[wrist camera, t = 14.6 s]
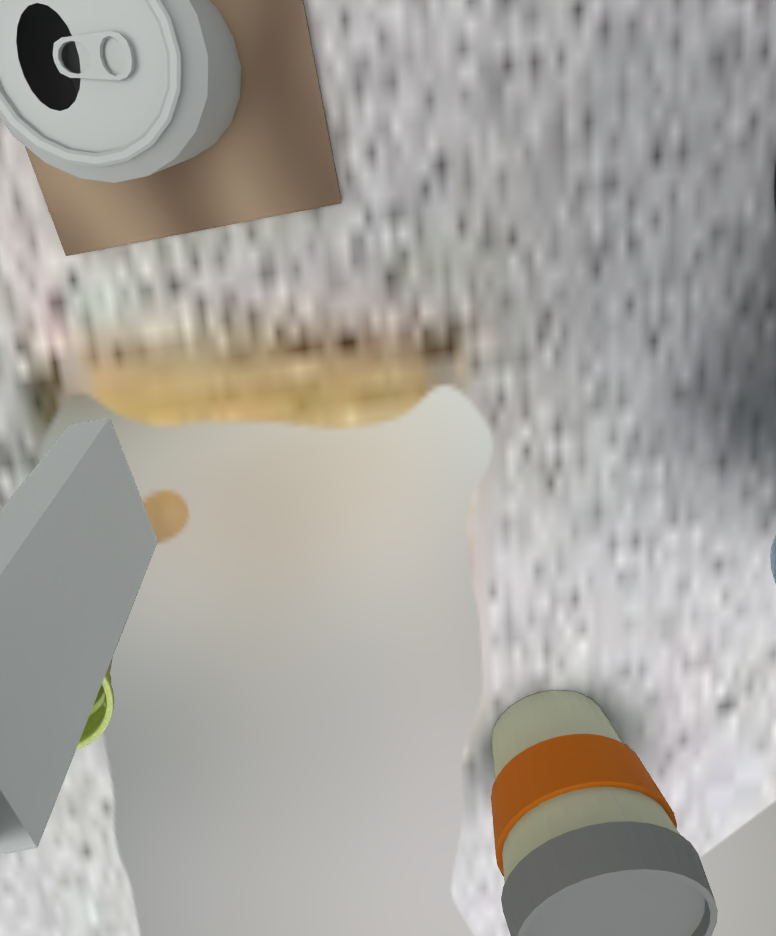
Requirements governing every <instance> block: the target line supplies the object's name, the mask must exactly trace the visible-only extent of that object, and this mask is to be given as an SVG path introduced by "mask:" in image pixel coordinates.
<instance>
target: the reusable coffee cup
mask: <svg viewBox="0 0 776 936" xmlns="http://www.w3.org/2000/svg"><path fill="white" fill-rule="evenodd" d="M492 749H493V760H494V771H495V782H494V785H493V788H492V795H491V802H492V814H493V826H494V838H495V850H496V859H497V865H498V867H499V869H500V871H501V873H502V875H503V876H504V880H505V884H504V887H503V892H502V898H501V901H502V907H503V912H504V915H505V919H506V922H507V925H508V928H509V931H510V934H511V936H711V935H712V933H713V930H714V928H715V925H716V923H717V912H718V911H717V907H716V903H715V900H714V897H713V894H712V891H711V889H710V886H709V883H708V880H707V877H706V875H705V872H704V869H703V866H702V863H701V861H700V858H699V855H698V853H697V852H696V850H695V849H694V847H693V846H692V844H691V843H690V842H689V841H687V840H686V839H685V838H684V837H683V836H681V835H680V834H679V832H678V831H677V823H676V819H675V816H674V812H673V811H672V809H671V808H670V806H669V804H668V803H667V801H666V800H665V798H664V797H663V795H662V794H661V792H660V790H659V789H658V787H657V786H656V784H655V783H654V781H653V779H652V778H651V776H650V775H649V773H648V772H647V770H646V769H645V767H644V765H643V764H642V762H641V761H640V759H639V758H638V756H637V755H636V753H635V752H634V751H633V750H631V749H630V748H629V747H628V746H627V745H625V744H623V743H622V741H621V740H620V738H619V737H618V735H617V734H616V732H615V730H614V729H613V727H612V726H611V724H610V722H609V721H608V719H607V718H606V716H605V714H604V713H603V711H602V710H601V708H600V707H599V705H598V704H596V703H595V702H594V701H593V700H592V699H590V698H588V697H587V696H585V695H582V694H579V693H576V692H572V691H564V690H555V691H546V692H540V693H537V694H534V695H530V696H528V697H526V698H524V699H522V700H520V701H518V702H516V703H515V704H513V705H512V706H510V707H509V708H508V709H507V710H506V711H505V712H504V713H503V714H502V715H501V716H500V718H499V719H498V721H497V722H496V724H495V727H494V729H493V733H492Z"/></svg>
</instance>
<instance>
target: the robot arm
mask: <svg viewBox="0 0 776 936" xmlns="http://www.w3.org/2000/svg"><path fill="white" fill-rule="evenodd" d="M775 203H776V179H775ZM157 542H158V540H157V538H156V535H155V533H154V530H153V527H152V525H151V522H150V520H149V517H148V515H147V512H146V509H145V507H144V504H143V502H142V499H141V496H140V494H139V491H138V489H137V486H136V484H135V481H134V478H133V476H132V473H131V471H130V469H129V466H128V463H127V460H126V458H125V455H124V453H123V450H122V447H121V445H120V442H119V440H118V437H117V434H116V432H115V429H114V427H113V424H112V422H111V419H110V418H105V419H100V420H94V421H88V422H83V423H78V424H73V425H69V426H68V427H67V429H66V430H65V431H64V432H63V433H62V435H61V436H60V437H59V438H58V440H57V441H56V442H55V443H54V445H53V446H52V447H51V448H50V450H49V451H48V452H47V453H46V455H45V456H44V457H43V458H42V460H41V461H40V462H39V463H38V465H37V466H36V467H35V468H34V470H33V471H32V472H31V473H30V475H29V476H28V477H27V478H26V480H25V481H24V482H23V483H22V485H21V486H20V487H19V488H18V490H17V491H16V492H15V493H14V494H13V496H12V497H11V498H10V499H9V501H8V502H7V503H6V504H5V506H4V507H3V508H2V509H1V511H0V854H6V853H11V852H17V851H23V850H28V849H34V848H37V847H38V845H39V842H40V840H41V837H42V835H43V832H44V830H45V827H46V825H47V822H48V819H49V817H50V814H51V812H52V809H53V807H54V804H55V802H56V799H57V797H58V794H59V791H60V789H61V786H62V784H63V781H64V779H65V776H66V774H67V771H68V769H69V766H70V764H71V761H72V758H73V756H74V753H75V751H76V748H77V746H78V743H79V741H80V738H81V736H82V733H83V730H84V728H85V725H86V723H87V720H88V718H89V715H90V713H91V710H92V708H93V705H94V702H95V700H96V697H97V695H98V692H99V690H100V687H101V685H102V682H103V680H104V677H105V675H106V672H107V669H108V667H109V664H110V662H111V659H112V657H113V654H114V652H115V649H116V646H117V644H118V641H119V639H120V636H121V634H122V631H123V629H124V626H125V624H126V621H127V619H128V616H129V613H130V611H131V608H132V606H133V603H134V601H135V598H136V596H137V593H138V590H139V588H140V585H141V583H142V580H143V578H144V575H145V573H146V570H147V568H148V565H149V563H150V560H151V558H152V555H153V552H154V550H155V547H156V545H157ZM770 557H771V569H772V573H773V577H774V580H775V583H776V536H775V538H774V541H773V544H772V547H771V555H770Z"/></svg>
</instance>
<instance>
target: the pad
mask: <svg viewBox="0 0 776 936" xmlns="http://www.w3.org/2000/svg"><path fill="white" fill-rule="evenodd" d="M210 1H211V2H212V3H213V4H214V5H215V6H216V7H217V8H218V10H219V11H220V13H221V15H222V17H223V19H224V20H225V22H226V24H227V26H228V28H229V30H230V31H231V33H232V35H233V37H234V40H235V44H236V48H237V52H238V56H239V61H240V65H241V88H240V99H239V102H238V105H237V108H236V111H235V114H234V116H233V119H232V122H231V124H230V125H229V127H228V128H227V129H226V130H225V132H224V133H223V134H222V136H221V137H220V138H219V139H218V141H217V142H216V143H215V144H214V145H212V146H211V147H209V148H207V149H206V150H204V151H203V152H201V153H199V154H198V155H196V156H195V157H193V158H190V159H188V160H185V161H183V162H180V163H178V164H176V165H173V166H171V167H168V168H166V169H163V170H161V171H159V172H156V173H154V174H151V175H149V176H146V177H141V178H136V179H131V180H126V181H121V182H116V183H112V182H104V181H96V180H89V179H81V178H78V177H76V176H73V175H71V174H69V173H67V172H65V171H62V170H60V169H58V168H56V167H54V166H51V165H49V164H47V163H45V162H44V161H43V160H41V159H40V158H39V157H38V156H37V155H35V154H34V153H33V152H32V151H31V150H29V149H28V148H27V147H26V146H25V148H26V150H27V153H28V156H29V158H30V161H31V164H32V166H33V169H34V172H35V174H36V177H37V180H38V182H39V185H40V188H41V190H42V193H43V196H44V198H45V201H46V204H47V206H48V209H49V212H50V214H51V217H52V220H53V222H54V225H55V228H56V230H57V233H58V236H59V238H60V241H61V244H62V246H63V249H64V252H65V254H66V256H69V255H74V254H79V253H85V252H90V251H95V250H100V249H105V248H111V247H116V246H121V245H126V244H131V243H137V242H142V241H147V240H152V239H157V238H163V237H168V236H173V235H178V234H183V233H189V232H194V231H199V230H204V229H209V228H215V227H220V226H225V225H230V224H235V223H241V222H246V221H251V220H256V219H261V218H267V217H272V216H277V215H282V214H287V213H293V212H298V211H303V210H308V209H313V208H319V207H324V206H329V205H334V204H339V203H341V196H340V191H339V186H338V181H337V176H336V170H335V165H334V160H333V155H332V149H331V144H330V139H329V134H328V129H327V123H326V118H325V113H324V108H323V102H322V97H321V92H320V87H319V82H318V76H317V71H316V66H315V61H314V56H313V50H312V45H311V40H310V35H309V29H308V24H307V19H306V14H305V9H304V3H303V0H210Z"/></svg>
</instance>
